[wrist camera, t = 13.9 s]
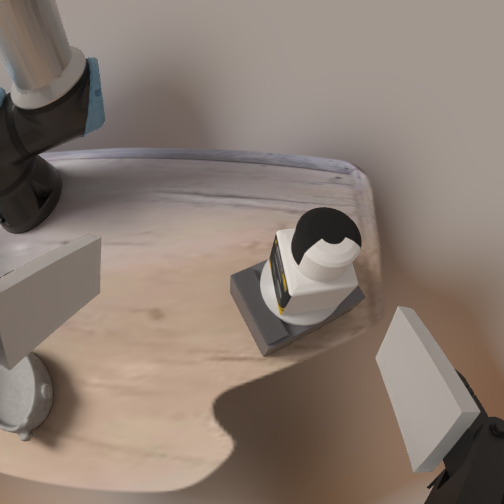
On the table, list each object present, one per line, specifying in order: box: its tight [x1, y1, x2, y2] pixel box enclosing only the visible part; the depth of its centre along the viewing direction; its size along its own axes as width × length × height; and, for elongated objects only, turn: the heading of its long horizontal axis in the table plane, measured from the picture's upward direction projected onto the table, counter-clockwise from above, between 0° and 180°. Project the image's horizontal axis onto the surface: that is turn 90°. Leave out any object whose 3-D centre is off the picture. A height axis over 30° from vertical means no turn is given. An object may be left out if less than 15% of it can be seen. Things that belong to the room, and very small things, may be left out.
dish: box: [0, 352, 53, 441], centre depth 32 cm, size 14×14×5 cm
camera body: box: [230, 259, 365, 357], centre depth 41 cm, size 10×14×8 cm
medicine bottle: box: [269, 207, 361, 315], centre depth 32 cm, size 7×7×12 cm
